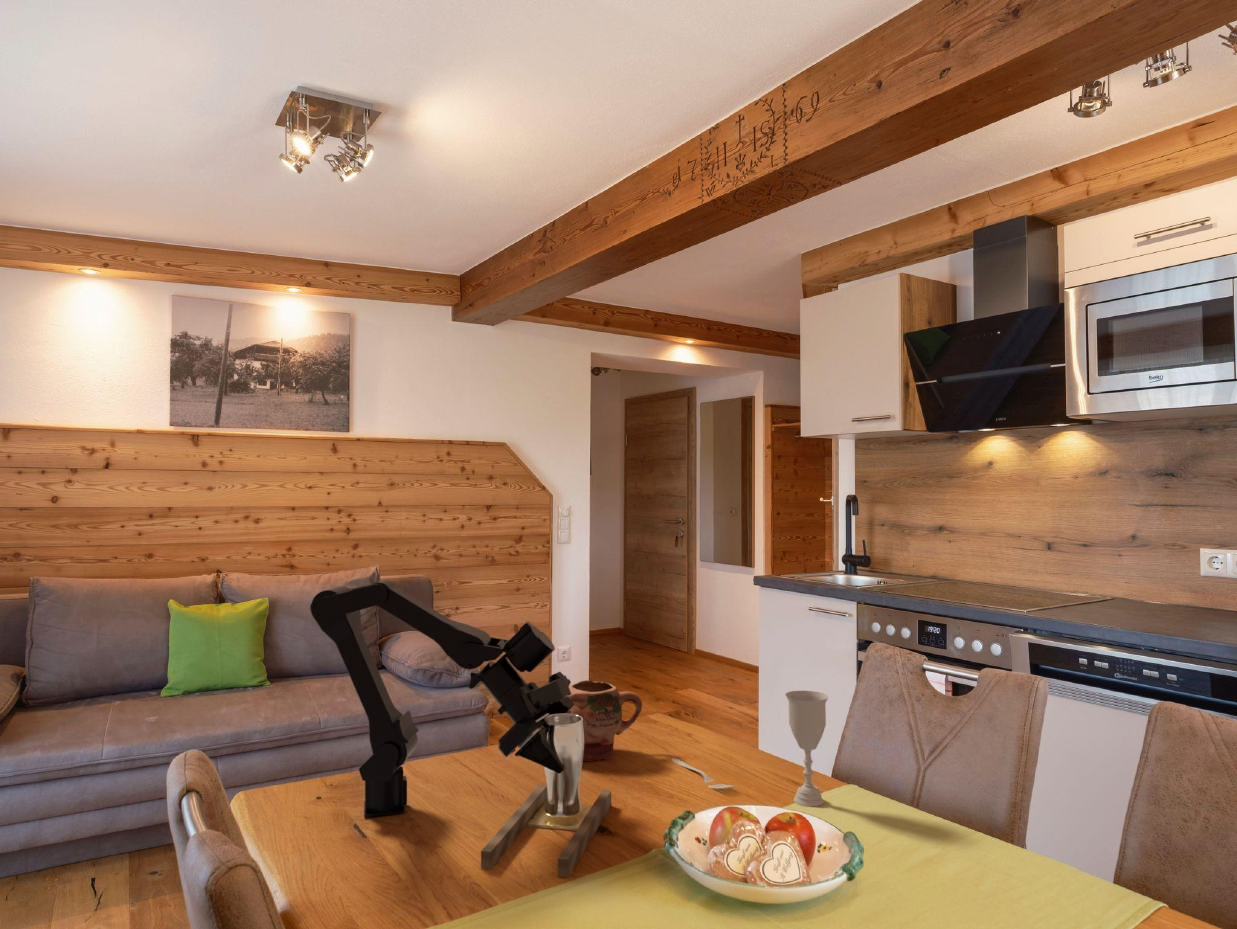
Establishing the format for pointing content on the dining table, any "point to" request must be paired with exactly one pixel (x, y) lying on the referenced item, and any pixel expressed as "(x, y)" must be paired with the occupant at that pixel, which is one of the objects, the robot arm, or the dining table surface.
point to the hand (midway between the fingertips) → (570, 764)
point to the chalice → (807, 736)
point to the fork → (706, 778)
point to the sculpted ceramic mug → (601, 715)
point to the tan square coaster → (558, 820)
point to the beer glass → (564, 764)
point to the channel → (525, 814)
